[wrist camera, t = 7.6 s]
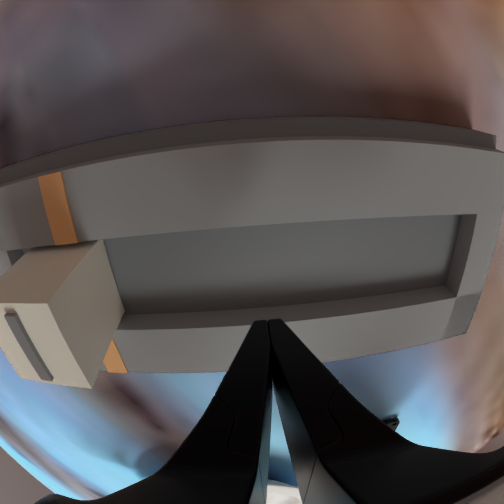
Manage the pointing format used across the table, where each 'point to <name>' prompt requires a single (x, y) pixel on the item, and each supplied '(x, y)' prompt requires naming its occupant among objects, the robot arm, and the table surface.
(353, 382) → the table surface
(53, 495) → the robot arm
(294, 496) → the candlestick
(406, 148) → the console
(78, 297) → the fader knob
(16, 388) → the table surface
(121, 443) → the table surface
